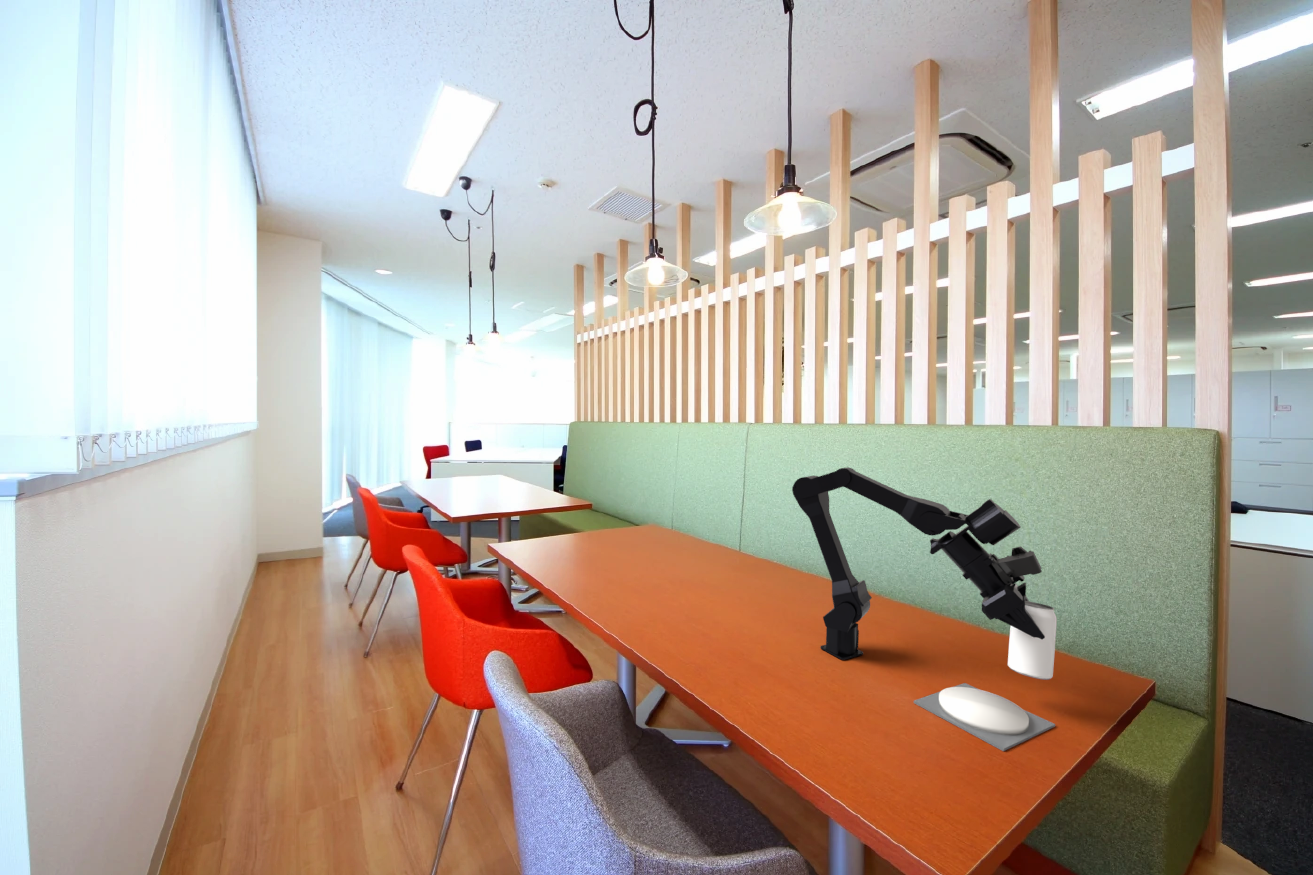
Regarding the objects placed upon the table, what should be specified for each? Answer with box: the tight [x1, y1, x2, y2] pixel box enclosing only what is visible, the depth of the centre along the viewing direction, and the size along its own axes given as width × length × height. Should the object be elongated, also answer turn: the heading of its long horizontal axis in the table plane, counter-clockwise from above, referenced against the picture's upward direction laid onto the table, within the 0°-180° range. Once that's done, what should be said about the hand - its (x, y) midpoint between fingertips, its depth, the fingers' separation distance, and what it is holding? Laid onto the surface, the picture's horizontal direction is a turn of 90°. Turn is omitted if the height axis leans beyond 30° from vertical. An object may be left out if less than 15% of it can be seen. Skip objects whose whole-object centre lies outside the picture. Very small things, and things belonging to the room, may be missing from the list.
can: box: [1007, 600, 1058, 681], centre depth 90 cm, size 6×6×12 cm
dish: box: [913, 682, 1056, 752], centre depth 87 cm, size 15×15×1 cm
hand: (1042, 633), depth 90 cm, fingers closed on can, 6 cm apart
